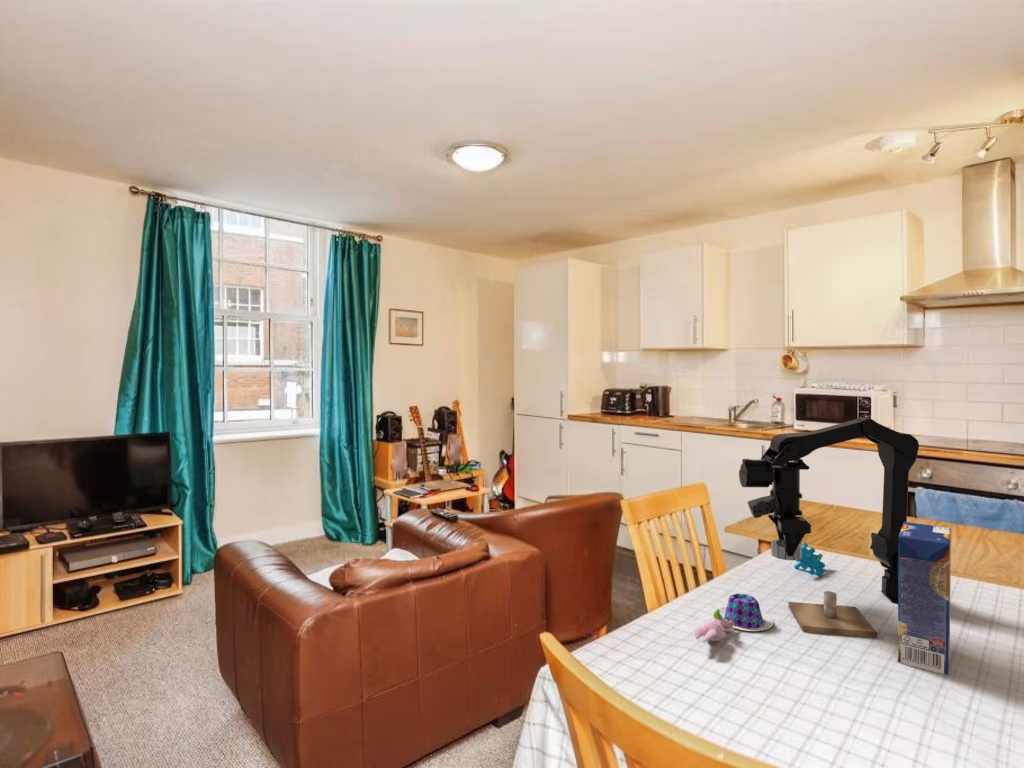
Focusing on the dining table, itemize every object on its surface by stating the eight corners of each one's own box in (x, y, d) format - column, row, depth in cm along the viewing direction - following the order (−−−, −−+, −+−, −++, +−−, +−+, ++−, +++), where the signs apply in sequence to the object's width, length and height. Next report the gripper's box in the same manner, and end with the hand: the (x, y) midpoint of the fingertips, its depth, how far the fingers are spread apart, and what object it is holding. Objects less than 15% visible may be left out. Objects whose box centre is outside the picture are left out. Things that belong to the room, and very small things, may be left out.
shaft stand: (855, 612, 125) (856, 585, 125) (877, 637, 113) (877, 608, 113) (788, 606, 128) (788, 580, 128) (802, 631, 117) (802, 602, 116)
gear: (810, 575, 143) (788, 540, 149) (794, 585, 146) (773, 551, 153) (836, 572, 148) (814, 539, 154) (820, 583, 151) (798, 549, 158)
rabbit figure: (712, 628, 121) (684, 644, 110) (713, 600, 122) (685, 613, 111) (741, 636, 117) (715, 654, 106) (743, 607, 118) (717, 622, 107)
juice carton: (948, 676, 99) (949, 544, 99) (897, 662, 104) (898, 536, 103) (949, 648, 109) (951, 527, 108) (903, 637, 113) (904, 521, 113)
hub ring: (797, 552, 136) (797, 540, 136) (804, 561, 130) (804, 548, 130) (769, 550, 137) (769, 538, 137) (774, 559, 131) (774, 546, 131)
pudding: (777, 617, 124) (777, 594, 124) (768, 639, 114) (767, 614, 114) (721, 605, 131) (721, 583, 131) (708, 625, 121) (708, 601, 121)
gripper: (743, 478, 144) (744, 537, 144) (757, 495, 126) (758, 562, 126) (790, 479, 141) (790, 540, 142) (811, 497, 123) (811, 566, 124)
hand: (786, 551), depth 133 cm, fingers closed on hub ring, 6 cm apart
